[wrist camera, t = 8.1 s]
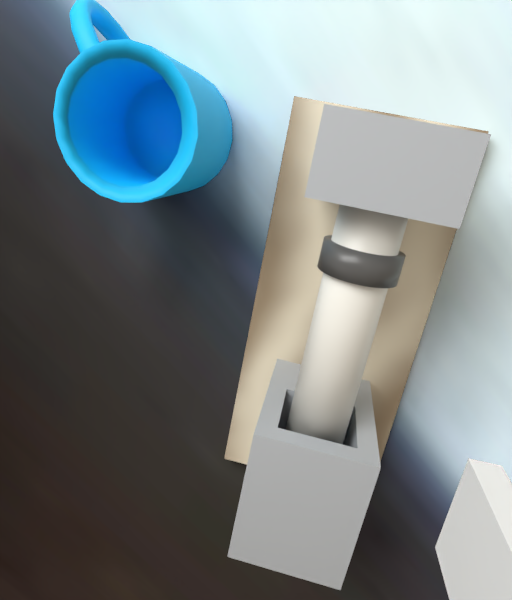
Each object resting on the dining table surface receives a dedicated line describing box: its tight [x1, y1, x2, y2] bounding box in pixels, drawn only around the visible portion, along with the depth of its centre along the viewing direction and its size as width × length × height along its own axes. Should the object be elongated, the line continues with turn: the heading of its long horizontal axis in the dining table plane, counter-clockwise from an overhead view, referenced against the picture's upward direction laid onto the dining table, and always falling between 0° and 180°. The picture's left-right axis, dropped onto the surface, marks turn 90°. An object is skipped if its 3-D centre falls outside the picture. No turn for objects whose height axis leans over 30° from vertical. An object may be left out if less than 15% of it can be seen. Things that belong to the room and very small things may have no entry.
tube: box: [286, 204, 408, 445], centre depth 26 cm, size 18×4×4 cm, turn 169°
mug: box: [53, 0, 233, 202], centre depth 28 cm, size 12×8×8 cm
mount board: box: [224, 96, 488, 465], centre depth 34 cm, size 12×28×1 cm, turn 169°
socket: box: [304, 104, 491, 229], centre depth 25 cm, size 4×7×10 cm, turn 79°
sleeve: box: [228, 359, 381, 590], centre depth 31 cm, size 9×7×10 cm
